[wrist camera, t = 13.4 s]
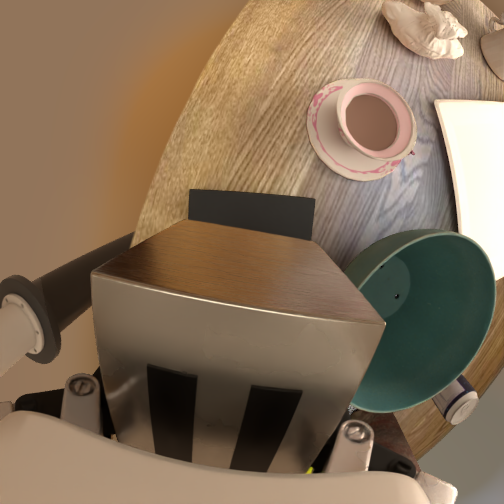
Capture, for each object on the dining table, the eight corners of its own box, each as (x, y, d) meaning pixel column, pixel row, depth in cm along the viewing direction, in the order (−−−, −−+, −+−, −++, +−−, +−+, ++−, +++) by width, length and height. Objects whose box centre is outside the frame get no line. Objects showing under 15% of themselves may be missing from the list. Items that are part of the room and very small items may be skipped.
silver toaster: (316, 241, 13) (389, 324, 5) (267, 416, 16) (268, 520, 8) (183, 218, 13) (87, 271, 5) (172, 400, 16) (138, 498, 8)
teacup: (284, 138, 27) (290, 127, 21) (339, 61, 24) (355, 38, 18) (372, 203, 28) (397, 209, 22) (418, 125, 25) (448, 117, 19)
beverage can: (415, 383, 35) (446, 432, 23) (414, 360, 33) (451, 411, 22) (442, 368, 34) (477, 412, 22) (444, 344, 33) (484, 388, 21)
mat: (189, 301, 32) (187, 304, 31) (191, 189, 28) (189, 189, 27) (299, 310, 32) (300, 314, 31) (313, 198, 28) (315, 199, 27)
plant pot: (304, 356, 33) (319, 427, 21) (305, 213, 29) (336, 235, 17) (423, 339, 33) (465, 389, 21) (441, 212, 28) (509, 231, 16)
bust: (366, 27, 24) (383, 32, 17) (383, -13, 18) (406, -22, 11) (438, 69, 25) (472, 92, 18) (456, 32, 19) (496, 46, 12)
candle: (382, 392, 35) (429, 490, 16) (395, 411, 36) (434, 498, 17) (341, 415, 36) (369, 518, 17) (357, 433, 38) (384, 522, 18)
